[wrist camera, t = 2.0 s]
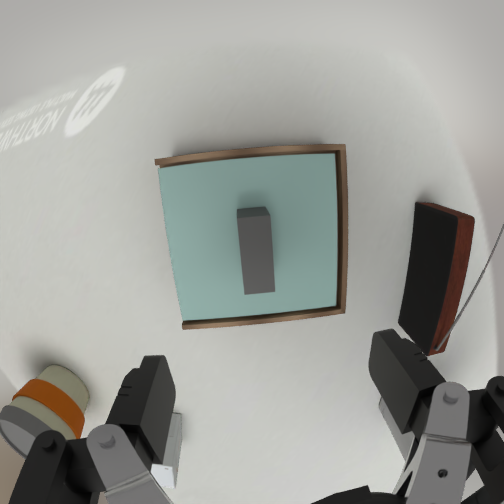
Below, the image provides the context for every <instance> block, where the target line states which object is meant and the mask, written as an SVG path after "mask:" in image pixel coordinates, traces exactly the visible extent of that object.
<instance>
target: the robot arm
mask: <svg viewBox="0 0 504 504" xmlns="http://www.w3.org/2000/svg"><path fill="white" fill-rule="evenodd" d="M369 372H370V376H371V378H372V380H373V381H374V383H375V385H376V387H377V389H378V391H379V392H380V394H381V396H382V398H381V401H380V404H379V408H380V411H381V413H382V415H383V417H384V419H385V421H386V423H387V425H388V427H389V429H390V431H391V433H392V435H393V437H394V439H395V441H396V443H397V445H398V447H399V449H400V451H401V454H402V456H403V458H404V460H405V465H404V467H403V470H402V473H401V476H400V478H399V480H398V482H397V484H396V486H395V488H394V490H393V492H392V494H391V493H383V492H370V490H369V487H368V485H366V486H363V487H359V488H356V489H352V490H348V491H344V492H339V493H335V494H333V495H330V496H328V497H326V498H323V499H321V500H319V501H316V502H314V503H311V504H504V442H503V440H502V438H501V437H500V435H499V434H498V432H497V431H496V429H497V428H498V426H499V427H500V429H501V430H502V432H503V433H504V377H503V376H496V377H493V378H491V379H490V380H489V382H488V384H487V386H486V388H485V389H480V390H472V391H467V389H466V388H465V387H464V386H462V385H461V384H458V383H455V382H446V381H445V379H444V378H443V377H442V376H441V374H440V373H439V372H438V371H437V369H436V368H435V367H434V366H433V364H432V363H431V362H430V361H429V360H427V357H426V356H425V355H424V353H423V354H422V351H421V350H420V349H419V347H418V346H417V345H416V344H415V343H413V342H411V341H410V340H408V339H406V338H403V339H401V337H400V336H399V335H398V334H397V332H396V331H395V330H394V329H387V330H383V331H378V332H375V333H374V334H373V338H372V345H371V351H370V358H369ZM175 398H176V391H175V385H174V382H173V379H172V376H171V373H170V369H169V366H168V363H167V360H166V357H165V356H164V355H152V356H144V358H143V360H142V363H141V365H140V368H133V369H132V370H131V371H130V372H129V373H128V374H127V375H126V376H125V378H124V380H123V382H122V385H121V388H120V389H119V392H118V396H116V399H115V401H114V404H113V406H112V409H111V411H110V413H109V416H108V418H107V421H106V423H105V424H104V425H100V426H98V427H96V428H94V429H93V430H92V431H91V432H90V433H89V435H88V437H87V438H81V439H71V440H66V438H65V437H64V436H63V434H62V433H60V432H59V431H56V430H47V431H44V432H42V433H41V434H39V435H38V436H37V437H36V438H35V440H34V442H33V444H32V446H31V449H30V451H29V453H28V455H27V458H26V460H25V462H24V465H23V467H22V469H21V472H20V474H19V477H18V479H17V482H16V484H15V488H14V490H13V492H12V495H11V498H10V501H9V504H98V499H99V495H100V492H103V491H106V492H105V497H106V499H107V501H108V503H109V504H173V503H172V501H171V500H170V499H169V497H168V496H167V495H166V493H165V492H164V491H163V489H162V488H161V486H160V485H159V484H158V482H157V481H156V479H155V478H154V476H153V475H152V473H151V468H152V464H161V465H163V460H164V454H165V449H166V443H167V438H168V433H169V428H170V423H171V418H172V413H173V408H174V403H175ZM475 468H476V470H477V471H478V473H479V475H480V478H481V479H482V481H483V483H484V486H483V487H482V488H480V489H479V490H478V491H476V492H475V493H474V494H472V495H471V496H469V497H468V498H467V499H465V500H464V501H462V502H461V499H462V495H463V491H464V486H465V481H466V480H467V479H468V478H469V476H470V475H471V474H472V473H473V471H474V470H475Z"/></svg>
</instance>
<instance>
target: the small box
mask: <svg viewBox="0 0 504 504" xmlns="http://www.w3.org/2000/svg"><path fill="white" fill-rule="evenodd" d="M181 444H182V435H181V414H176V413H172V418H171V423H170V428H169V433H168V438H167V443H166V449H165V454H164V460H163V465H161V464H152V468H151V473H152V475H153V476H154V478H155V479H156V481H157V482H158V484H159V485H160V486H161V487H167V488H173V489H175V488H176V482H177V474H178V466H179V458H180V451H181Z"/></svg>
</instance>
